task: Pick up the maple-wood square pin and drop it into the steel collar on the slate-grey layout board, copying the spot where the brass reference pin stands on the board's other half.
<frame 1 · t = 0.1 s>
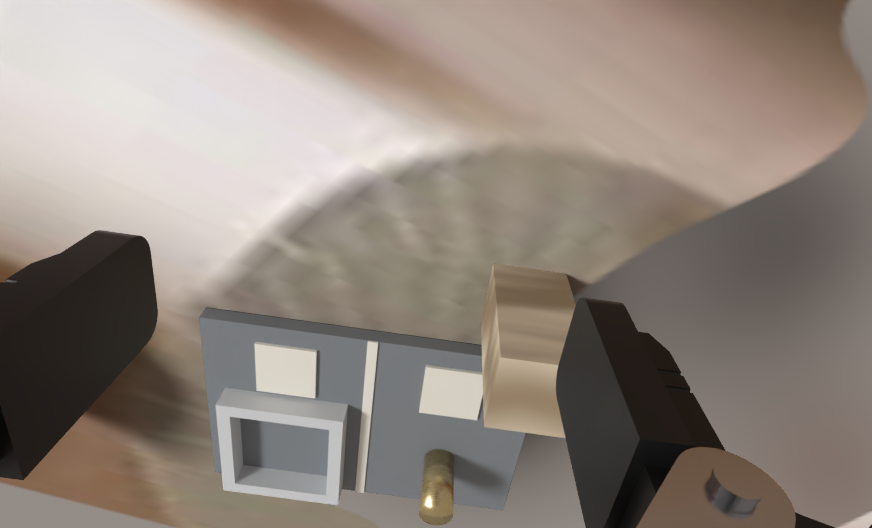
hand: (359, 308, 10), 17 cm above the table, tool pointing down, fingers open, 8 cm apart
layout board: (368, 411, 35), on the table
square pin: (522, 299, 30), on the table
reference pin: (439, 459, 35), resting on layout board
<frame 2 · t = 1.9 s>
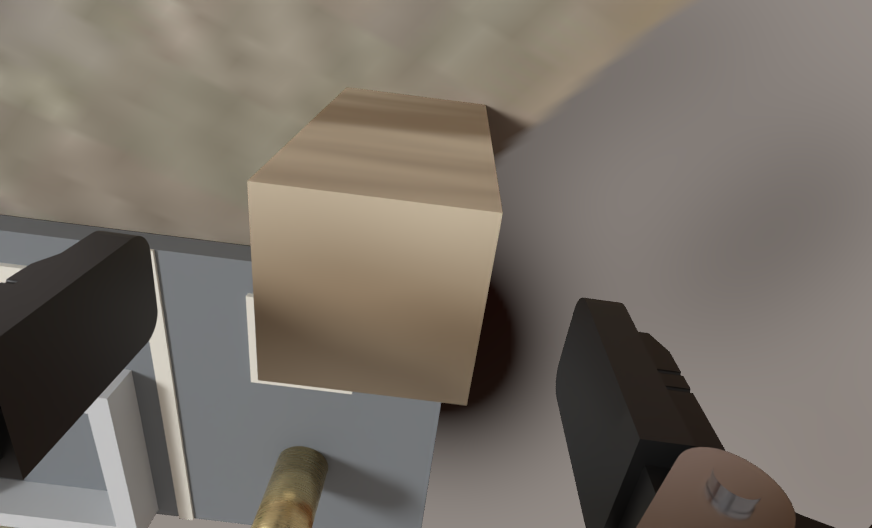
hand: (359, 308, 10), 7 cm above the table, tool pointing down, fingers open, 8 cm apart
layout board: (181, 385, 21), on the table
square pin: (409, 163, 16), on the table
reference pin: (303, 464, 21), resting on layout board
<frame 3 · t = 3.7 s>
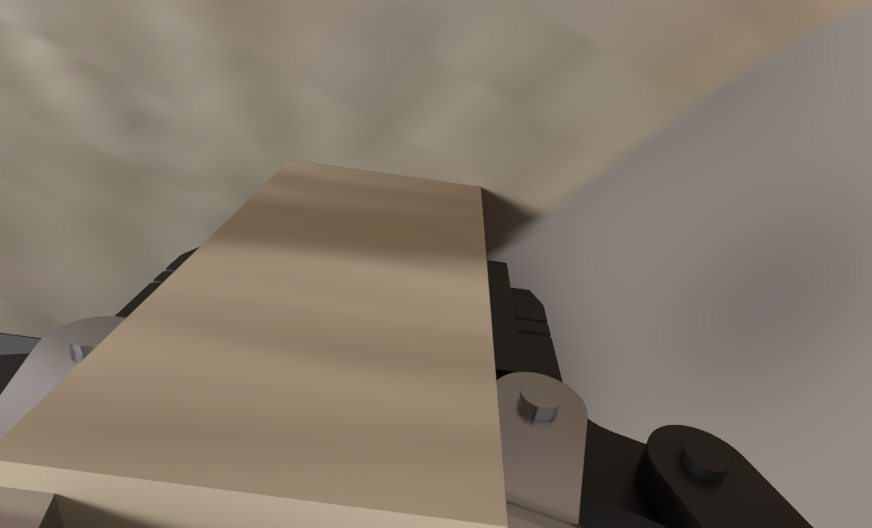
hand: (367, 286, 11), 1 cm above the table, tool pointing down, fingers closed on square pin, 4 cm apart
layout board: (89, 514, 17), on the table
square pin: (377, 259, 12), on the table, touching gripper
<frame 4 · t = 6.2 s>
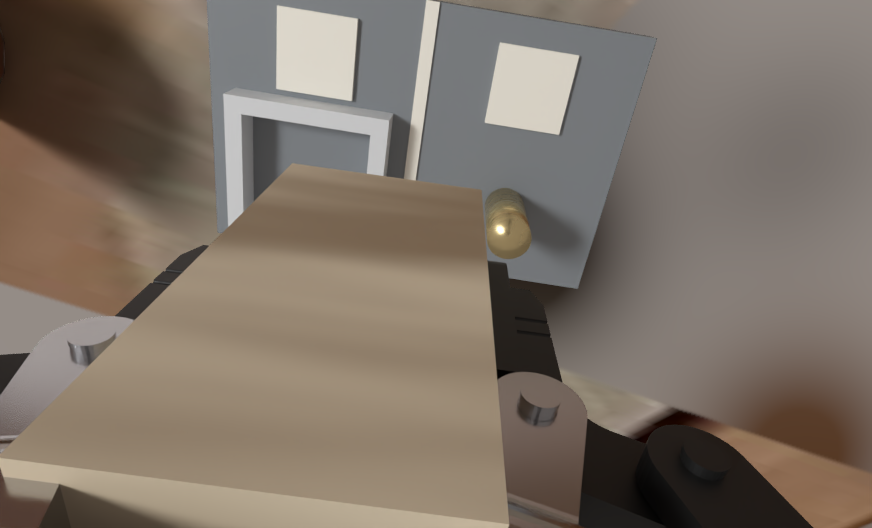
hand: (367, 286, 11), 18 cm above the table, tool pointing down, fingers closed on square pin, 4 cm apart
layout board: (415, 140, 28), on the table
square pin: (379, 260, 12), point 16 cm above the table, touching gripper
reference pin: (504, 206, 28), resting on layout board
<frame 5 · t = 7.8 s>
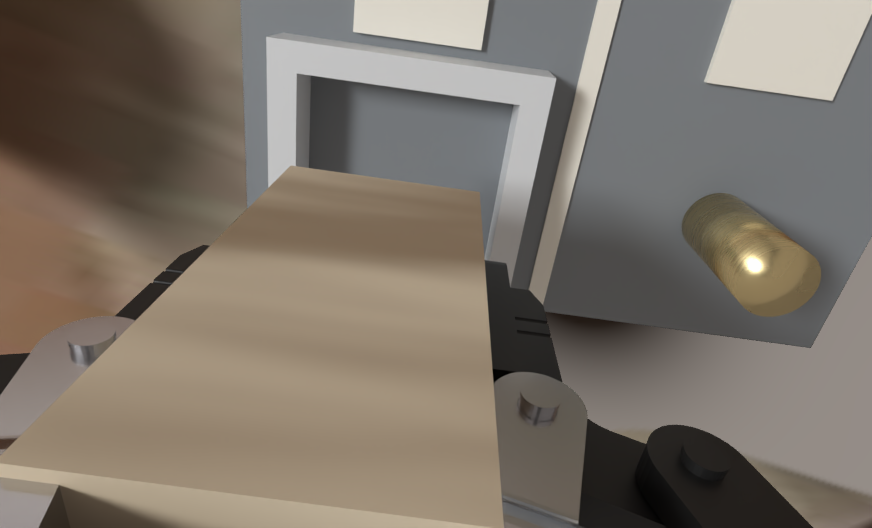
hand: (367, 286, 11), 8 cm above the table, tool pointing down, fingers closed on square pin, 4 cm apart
layout board: (572, 118, 17), on the table
square pin: (377, 262, 12), point 7 cm above the table, touching gripper
reference pin: (714, 222, 17), resting on layout board
when the fingers open (4 cm above the table, at t = 9.2 s): square pin drops 2 cm, resting on layout board.
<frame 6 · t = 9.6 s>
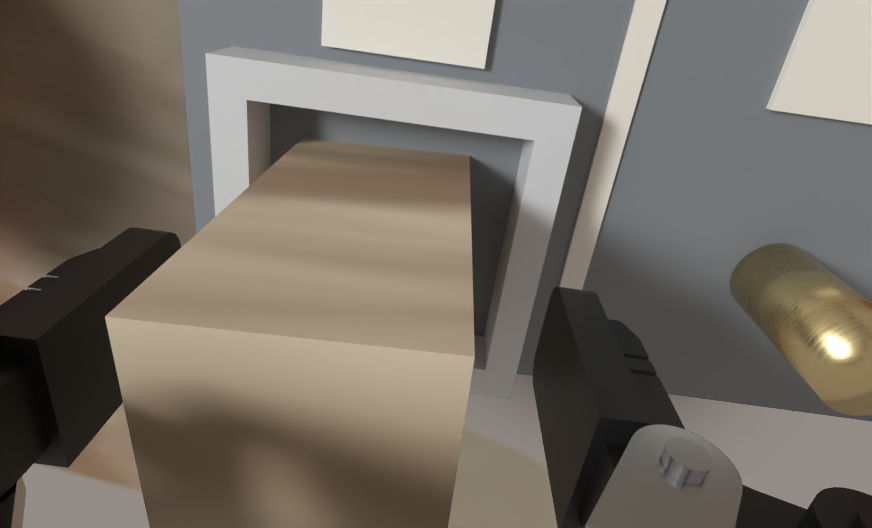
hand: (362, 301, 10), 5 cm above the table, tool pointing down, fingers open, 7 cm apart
layout board: (596, 150, 14), on the table
square pin: (382, 223, 14), point 1 cm above the table, touching layout board
reference pin: (770, 278, 14), resting on layout board
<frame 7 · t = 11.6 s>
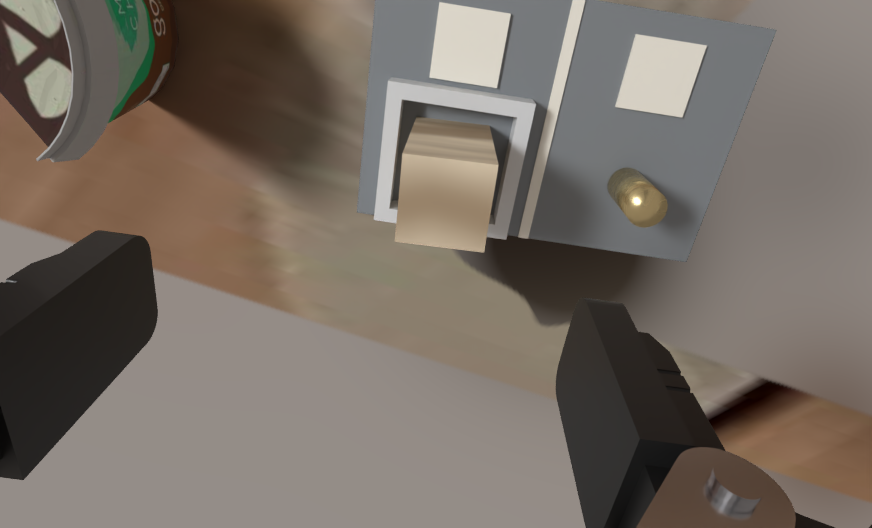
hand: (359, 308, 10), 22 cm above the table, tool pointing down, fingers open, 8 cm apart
layout board: (545, 125, 30), on the table
square pin: (448, 156, 30), point 1 cm above the table, touching layout board
reference pin: (625, 184, 31), resting on layout board
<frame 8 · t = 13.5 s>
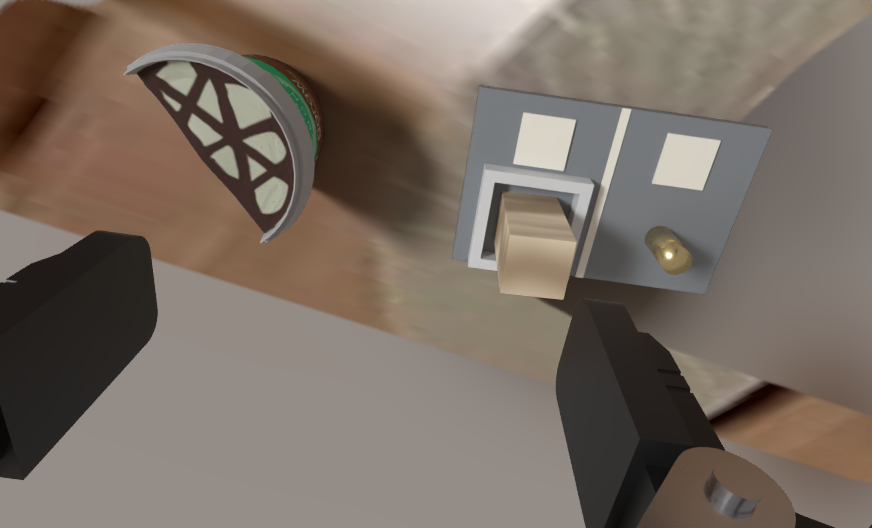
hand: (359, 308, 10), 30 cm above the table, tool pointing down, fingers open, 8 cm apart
layout board: (598, 194, 40), on the table
square pin: (524, 219, 40), point 1 cm above the table, touching layout board
reference pin: (658, 238, 40), resting on layout board
food container: (291, 102, 38), on the table
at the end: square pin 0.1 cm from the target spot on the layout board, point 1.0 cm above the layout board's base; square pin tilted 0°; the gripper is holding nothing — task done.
